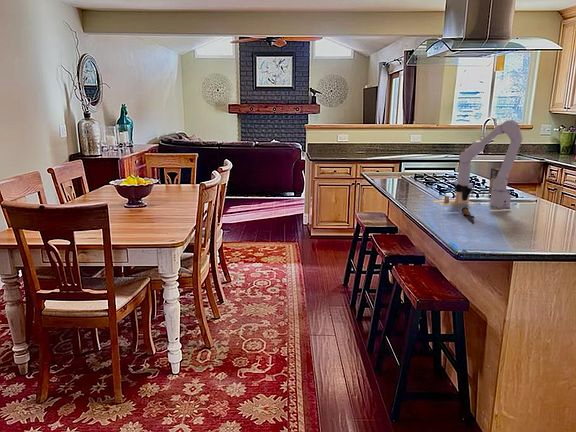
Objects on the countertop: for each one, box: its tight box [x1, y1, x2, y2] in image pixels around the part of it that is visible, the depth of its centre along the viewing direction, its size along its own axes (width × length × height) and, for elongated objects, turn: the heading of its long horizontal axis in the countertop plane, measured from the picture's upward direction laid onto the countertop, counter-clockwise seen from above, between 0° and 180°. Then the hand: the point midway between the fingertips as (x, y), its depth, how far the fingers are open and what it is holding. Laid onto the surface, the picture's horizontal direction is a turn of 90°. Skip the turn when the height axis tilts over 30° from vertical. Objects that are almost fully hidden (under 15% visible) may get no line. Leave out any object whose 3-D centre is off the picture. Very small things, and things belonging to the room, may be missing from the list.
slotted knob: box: [454, 191, 471, 203], centre depth 241 cm, size 6×4×5 cm
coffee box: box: [488, 167, 501, 194], centre depth 259 cm, size 9×6×16 cm
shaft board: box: [429, 195, 478, 207], centre depth 240 cm, size 16×20×4 cm
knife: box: [461, 206, 475, 225], centre depth 208 cm, size 25×3×5 cm
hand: (462, 199), depth 241 cm, fingers closed on slotted knob, 4 cm apart
